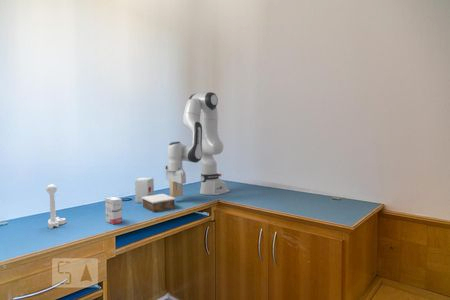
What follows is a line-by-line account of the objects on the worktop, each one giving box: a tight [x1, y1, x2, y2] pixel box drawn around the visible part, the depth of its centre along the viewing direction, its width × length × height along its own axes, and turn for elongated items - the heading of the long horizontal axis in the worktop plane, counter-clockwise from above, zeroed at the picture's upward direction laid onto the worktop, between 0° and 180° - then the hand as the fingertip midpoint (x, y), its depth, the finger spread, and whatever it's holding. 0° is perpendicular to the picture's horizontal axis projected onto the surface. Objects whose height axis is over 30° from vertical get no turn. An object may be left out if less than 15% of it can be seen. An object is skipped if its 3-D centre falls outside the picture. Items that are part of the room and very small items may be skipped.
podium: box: [142, 193, 177, 213], centre depth 172 cm, size 14×16×6 cm
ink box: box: [104, 196, 123, 225], centre depth 146 cm, size 9×5×12 cm, turn 48°
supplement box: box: [134, 177, 155, 204], centre depth 187 cm, size 9×9×15 cm
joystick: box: [45, 184, 67, 230], centre depth 142 cm, size 11×8×20 cm
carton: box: [168, 180, 184, 198], centre depth 186 cm, size 7×4×10 cm, turn 128°
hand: (176, 188), depth 186 cm, fingers closed on carton, 4 cm apart
